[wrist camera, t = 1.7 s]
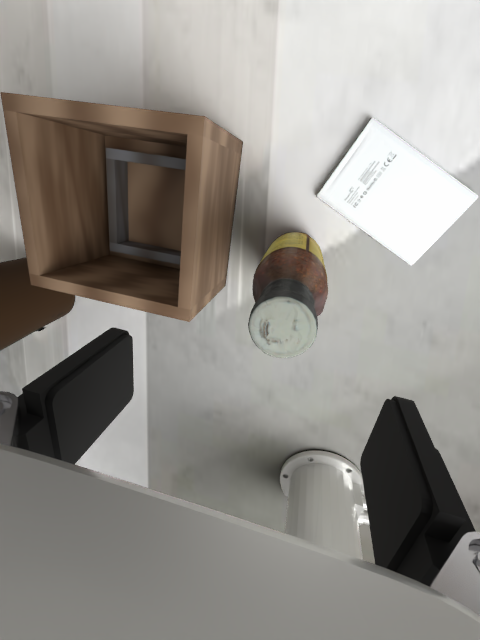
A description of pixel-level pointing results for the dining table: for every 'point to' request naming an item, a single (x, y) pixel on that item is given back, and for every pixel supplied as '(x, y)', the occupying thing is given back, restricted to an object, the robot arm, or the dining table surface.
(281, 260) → the sauce bottle
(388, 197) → the external hard drive
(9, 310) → the olive oil
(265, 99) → the dining table surface
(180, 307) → the walled box
